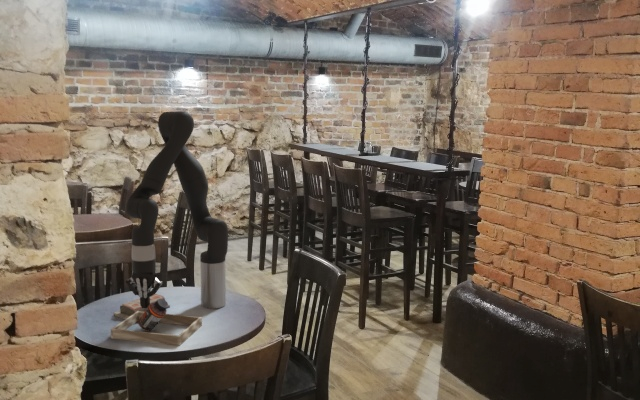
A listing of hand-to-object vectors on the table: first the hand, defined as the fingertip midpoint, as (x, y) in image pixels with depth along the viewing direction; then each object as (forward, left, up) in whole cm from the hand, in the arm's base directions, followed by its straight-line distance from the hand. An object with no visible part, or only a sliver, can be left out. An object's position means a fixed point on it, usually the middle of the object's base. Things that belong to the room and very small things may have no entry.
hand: (145, 307), depth 215 cm
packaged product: (-17, -10, -9) cm, 21 cm away
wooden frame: (0, +4, -8) cm, 9 cm away
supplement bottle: (0, 0, -6) cm, 6 cm away
